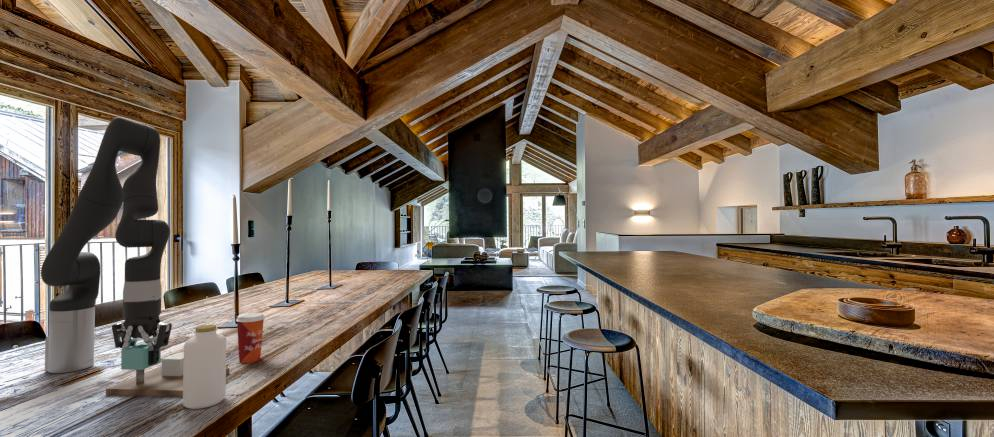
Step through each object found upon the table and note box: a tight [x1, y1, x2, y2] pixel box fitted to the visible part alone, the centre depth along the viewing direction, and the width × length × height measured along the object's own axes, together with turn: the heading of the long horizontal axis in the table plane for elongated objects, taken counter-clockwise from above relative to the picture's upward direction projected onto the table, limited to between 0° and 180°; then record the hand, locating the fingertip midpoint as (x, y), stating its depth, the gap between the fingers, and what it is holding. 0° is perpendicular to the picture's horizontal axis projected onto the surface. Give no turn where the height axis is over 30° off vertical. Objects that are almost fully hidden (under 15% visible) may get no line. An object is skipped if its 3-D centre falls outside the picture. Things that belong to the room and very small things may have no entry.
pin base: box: [105, 365, 230, 398], centre depth 110 cm, size 20×16×6 cm
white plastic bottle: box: [182, 324, 227, 410], centre depth 98 cm, size 8×8×18 cm
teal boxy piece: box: [120, 342, 162, 371], centre depth 106 cm, size 5×5×5 cm
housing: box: [161, 352, 184, 376], centre depth 113 cm, size 5×5×4 cm
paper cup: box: [235, 312, 266, 364], centre depth 129 cm, size 8×8×14 cm
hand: (141, 363), depth 106 cm, fingers closed on teal boxy piece, 5 cm apart
